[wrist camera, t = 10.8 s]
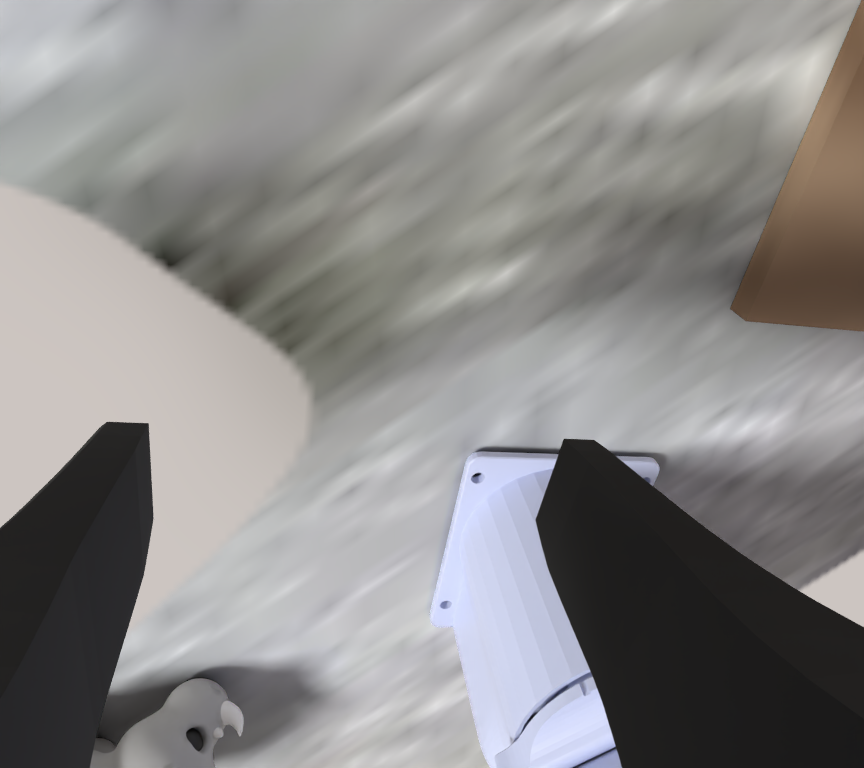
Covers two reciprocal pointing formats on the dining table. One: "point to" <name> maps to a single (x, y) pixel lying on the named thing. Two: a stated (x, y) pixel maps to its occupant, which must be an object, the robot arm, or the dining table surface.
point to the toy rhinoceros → (175, 731)
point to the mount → (818, 214)
